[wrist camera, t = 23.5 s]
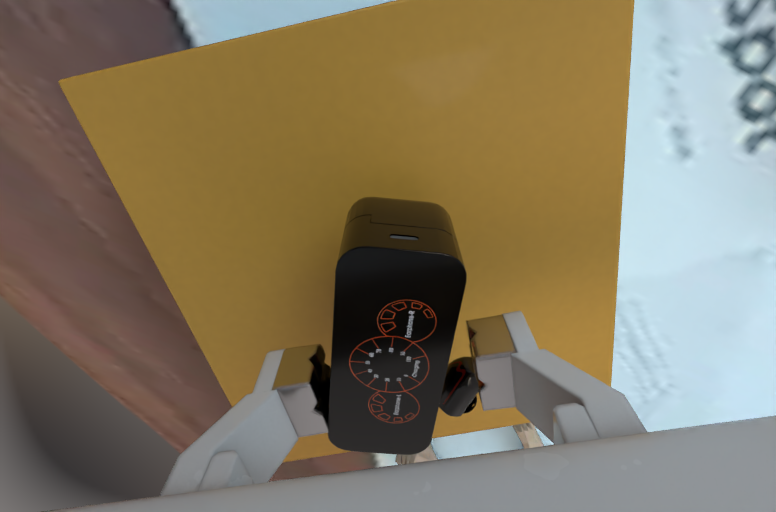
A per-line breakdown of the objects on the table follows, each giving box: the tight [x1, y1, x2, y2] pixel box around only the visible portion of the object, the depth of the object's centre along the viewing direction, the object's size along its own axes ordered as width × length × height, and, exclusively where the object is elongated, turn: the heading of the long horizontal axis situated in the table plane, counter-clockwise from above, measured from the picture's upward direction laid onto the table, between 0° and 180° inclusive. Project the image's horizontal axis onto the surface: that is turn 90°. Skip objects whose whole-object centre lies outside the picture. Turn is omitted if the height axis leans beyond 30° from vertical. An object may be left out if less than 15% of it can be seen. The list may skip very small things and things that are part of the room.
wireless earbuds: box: [328, 197, 478, 455], centre depth 12 cm, size 5×7×3 cm, turn 174°
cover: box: [59, 0, 634, 462], centre depth 15 cm, size 15×17×1 cm
